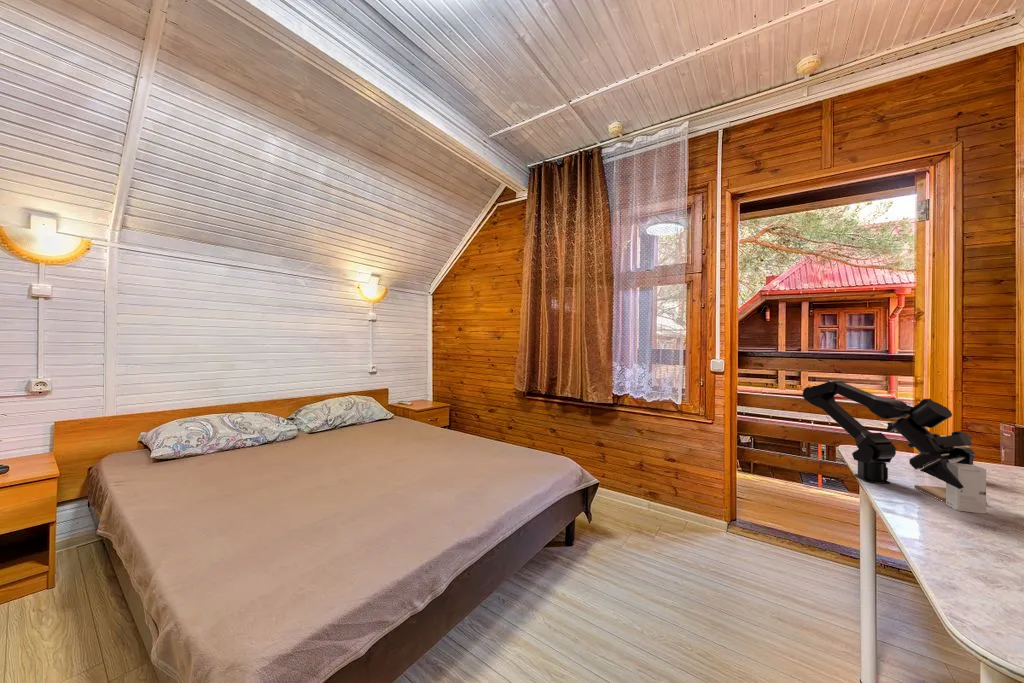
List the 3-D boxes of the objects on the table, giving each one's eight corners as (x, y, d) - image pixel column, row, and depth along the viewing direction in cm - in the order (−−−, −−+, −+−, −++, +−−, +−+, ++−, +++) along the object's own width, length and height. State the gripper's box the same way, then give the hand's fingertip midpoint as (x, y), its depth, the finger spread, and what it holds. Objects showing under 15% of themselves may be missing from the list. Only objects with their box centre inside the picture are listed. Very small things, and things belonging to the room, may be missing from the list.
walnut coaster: (942, 501, 107) (942, 498, 107) (914, 488, 117) (914, 485, 117) (986, 505, 105) (986, 501, 105) (954, 491, 114) (954, 488, 114)
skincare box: (957, 511, 101) (957, 466, 101) (944, 504, 105) (944, 461, 105) (988, 514, 99) (988, 469, 99) (973, 507, 103) (973, 464, 103)
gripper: (923, 423, 104) (982, 476, 93) (965, 419, 109) (1025, 469, 98) (888, 443, 111) (939, 495, 101) (929, 439, 116) (981, 487, 106)
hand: (972, 486), depth 101 cm, fingers open, 9 cm apart
